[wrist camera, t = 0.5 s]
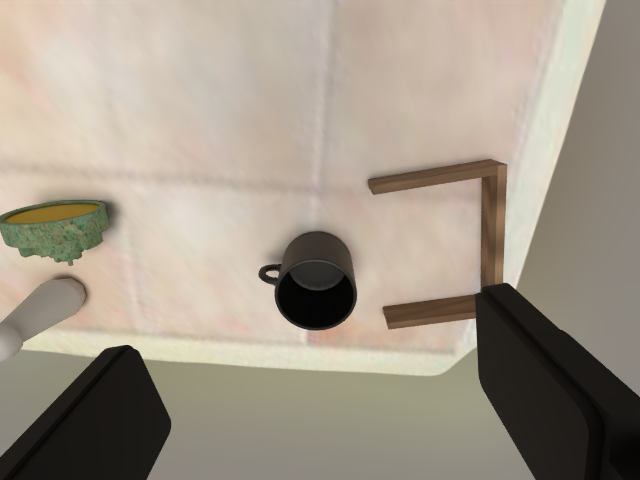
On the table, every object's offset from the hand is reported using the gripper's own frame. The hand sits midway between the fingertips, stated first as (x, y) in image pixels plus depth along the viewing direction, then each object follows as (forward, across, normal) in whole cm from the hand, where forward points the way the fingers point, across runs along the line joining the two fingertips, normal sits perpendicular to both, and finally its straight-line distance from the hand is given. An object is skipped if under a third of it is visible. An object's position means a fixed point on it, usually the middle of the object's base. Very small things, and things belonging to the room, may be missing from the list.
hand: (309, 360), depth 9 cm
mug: (+35, +4, +12) cm, 37 cm away
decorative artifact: (+35, +32, +1) cm, 47 cm away
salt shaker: (+35, +39, +10) cm, 53 cm away
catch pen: (+34, -12, +12) cm, 39 cm away
